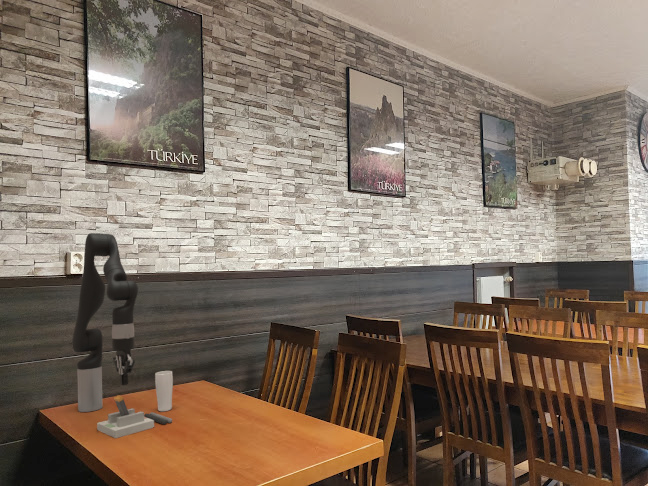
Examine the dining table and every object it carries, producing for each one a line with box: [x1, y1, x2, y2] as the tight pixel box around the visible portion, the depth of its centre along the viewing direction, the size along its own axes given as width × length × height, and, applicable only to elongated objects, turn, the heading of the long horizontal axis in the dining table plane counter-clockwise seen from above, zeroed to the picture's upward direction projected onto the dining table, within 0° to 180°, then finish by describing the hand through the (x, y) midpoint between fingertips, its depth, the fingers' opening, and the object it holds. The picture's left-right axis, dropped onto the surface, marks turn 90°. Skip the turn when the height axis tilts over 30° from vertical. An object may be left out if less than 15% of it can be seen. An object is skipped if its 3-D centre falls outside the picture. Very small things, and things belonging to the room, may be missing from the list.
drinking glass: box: [154, 370, 174, 412], centre depth 199 cm, size 7×7×15 cm
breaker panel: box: [96, 408, 155, 439], centre depth 176 cm, size 15×14×6 cm
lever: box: [113, 394, 129, 417], centre depth 175 cm, size 5×2×9 cm, turn 47°
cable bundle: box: [144, 411, 173, 425], centre depth 185 cm, size 16×4×2 cm, turn 47°
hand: (124, 384), depth 177 cm, fingers closed
